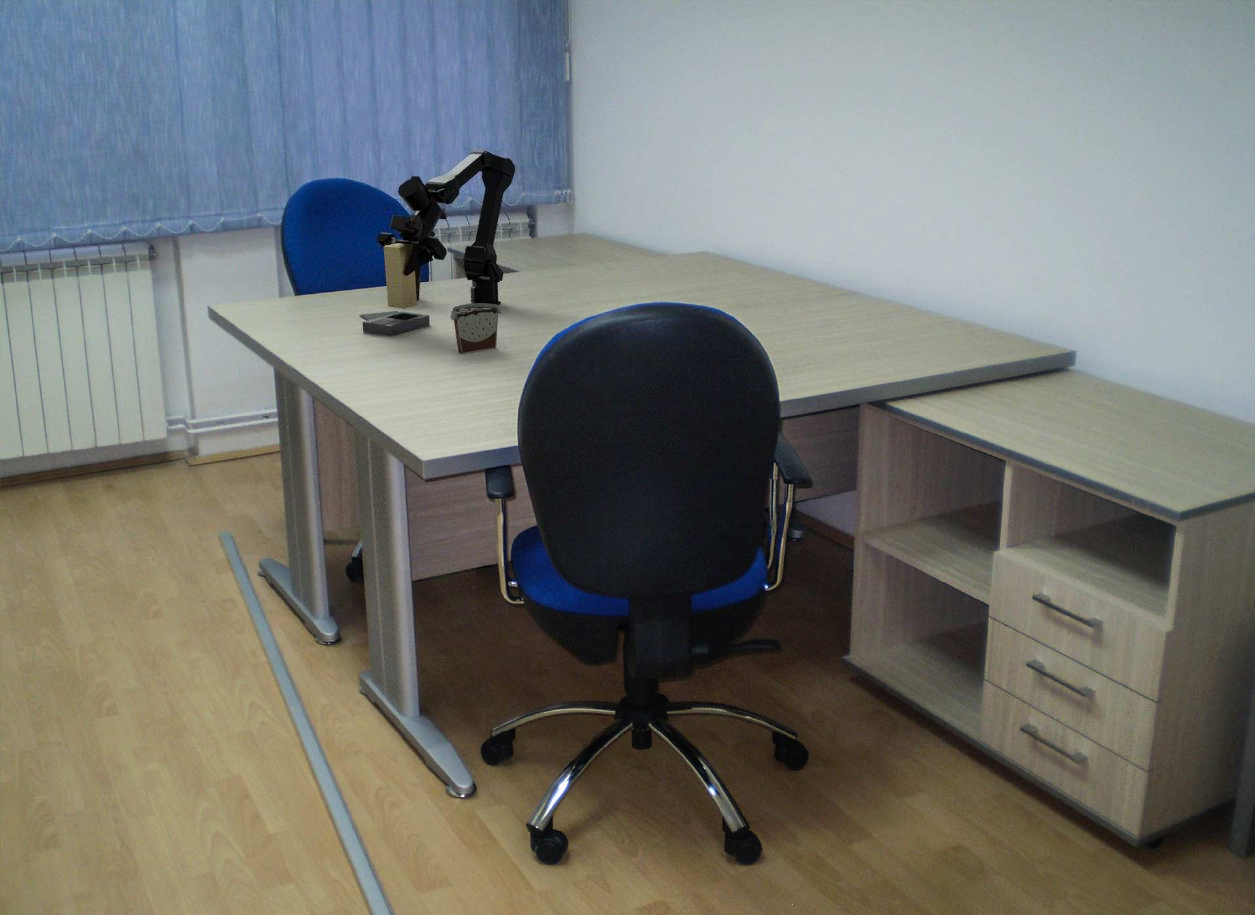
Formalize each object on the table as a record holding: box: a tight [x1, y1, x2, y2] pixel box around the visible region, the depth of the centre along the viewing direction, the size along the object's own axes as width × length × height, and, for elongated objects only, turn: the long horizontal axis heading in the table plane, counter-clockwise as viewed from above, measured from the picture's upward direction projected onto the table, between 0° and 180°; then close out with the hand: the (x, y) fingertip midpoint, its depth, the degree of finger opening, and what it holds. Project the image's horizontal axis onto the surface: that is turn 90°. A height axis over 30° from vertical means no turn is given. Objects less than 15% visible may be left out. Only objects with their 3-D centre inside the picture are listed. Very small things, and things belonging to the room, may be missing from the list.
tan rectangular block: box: [383, 243, 418, 310], centre depth 312 cm, size 5×5×15 cm
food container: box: [450, 303, 501, 355], centre depth 293 cm, size 12×6×10 cm, turn 129°
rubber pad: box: [359, 310, 399, 321], centre depth 326 cm, size 10×10×1 cm
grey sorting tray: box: [361, 311, 431, 337], centre depth 314 cm, size 14×9×3 cm, turn 149°
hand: (396, 273), depth 311 cm, fingers closed on tan rectangular block, 5 cm apart
